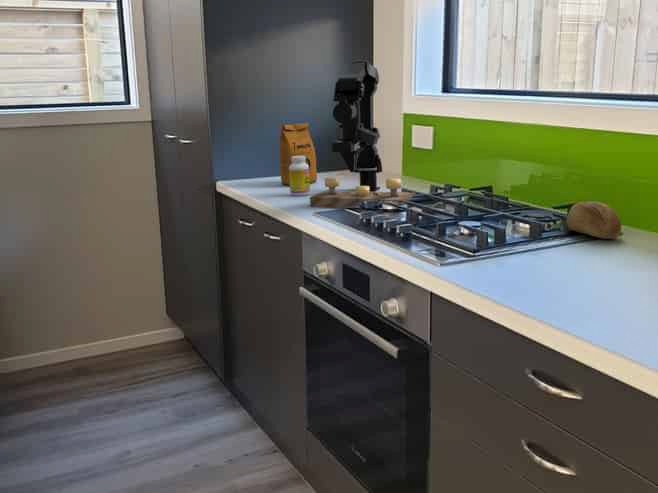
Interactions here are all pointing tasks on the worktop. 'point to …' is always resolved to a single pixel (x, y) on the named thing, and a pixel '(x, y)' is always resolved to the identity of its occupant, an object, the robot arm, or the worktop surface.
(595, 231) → the bread roll
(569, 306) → the worktop surface
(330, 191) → the button
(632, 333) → the worktop surface
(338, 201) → the mount board
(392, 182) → the button
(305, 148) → the coffee package
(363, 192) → the button centre
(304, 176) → the supplement bottle
